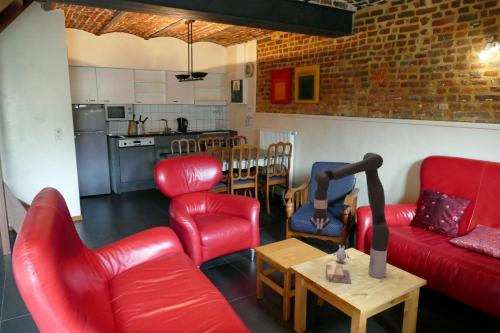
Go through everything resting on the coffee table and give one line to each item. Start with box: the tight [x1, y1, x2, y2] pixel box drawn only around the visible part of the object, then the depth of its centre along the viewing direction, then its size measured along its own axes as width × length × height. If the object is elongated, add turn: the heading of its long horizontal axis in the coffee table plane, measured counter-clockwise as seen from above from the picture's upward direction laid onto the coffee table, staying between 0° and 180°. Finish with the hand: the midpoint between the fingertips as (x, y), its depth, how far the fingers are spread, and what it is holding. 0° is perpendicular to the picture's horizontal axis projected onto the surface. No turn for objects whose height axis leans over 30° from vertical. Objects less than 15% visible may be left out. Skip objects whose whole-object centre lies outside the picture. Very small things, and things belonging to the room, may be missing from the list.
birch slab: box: [325, 264, 345, 281], centre depth 215 cm, size 4×12×10 cm
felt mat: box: [328, 269, 352, 285], centre depth 216 cm, size 13×16×1 cm
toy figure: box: [332, 244, 350, 264], centre depth 232 cm, size 11×6×12 cm, turn 65°
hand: (319, 234), depth 212 cm, fingers closed
